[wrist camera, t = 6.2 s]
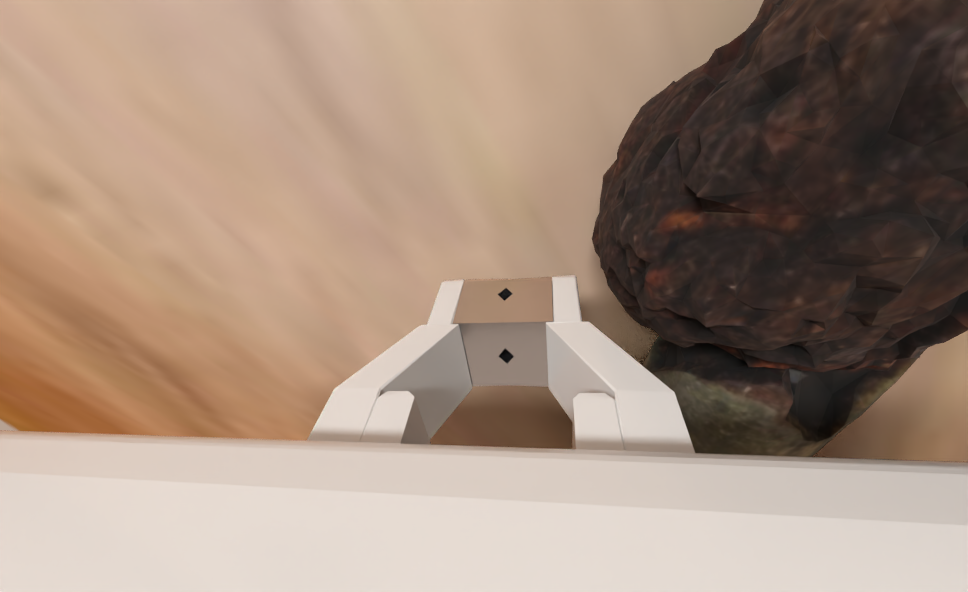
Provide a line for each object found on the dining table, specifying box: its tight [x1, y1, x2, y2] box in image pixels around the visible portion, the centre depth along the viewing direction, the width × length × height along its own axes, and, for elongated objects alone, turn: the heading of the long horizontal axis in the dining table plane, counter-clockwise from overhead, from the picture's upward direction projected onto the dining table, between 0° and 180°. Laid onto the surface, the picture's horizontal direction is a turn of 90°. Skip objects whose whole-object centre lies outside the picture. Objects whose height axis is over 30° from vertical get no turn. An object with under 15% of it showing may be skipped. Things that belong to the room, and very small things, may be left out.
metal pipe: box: [592, 0, 968, 457], centre depth 9 cm, size 18×7×6 cm, turn 175°
